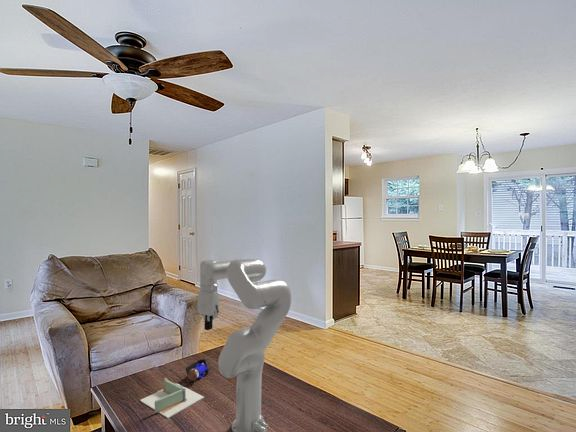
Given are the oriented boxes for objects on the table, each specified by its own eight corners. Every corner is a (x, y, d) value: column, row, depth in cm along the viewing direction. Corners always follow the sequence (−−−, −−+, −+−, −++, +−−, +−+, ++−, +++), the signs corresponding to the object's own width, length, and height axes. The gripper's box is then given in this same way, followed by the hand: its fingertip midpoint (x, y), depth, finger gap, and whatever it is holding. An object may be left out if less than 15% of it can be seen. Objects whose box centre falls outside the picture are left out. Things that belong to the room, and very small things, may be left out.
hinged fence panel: (184, 398, 142) (184, 387, 141) (186, 399, 140) (186, 389, 140) (154, 411, 132) (154, 400, 132) (156, 413, 131) (156, 402, 131)
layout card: (204, 397, 143) (204, 396, 143) (167, 418, 129) (167, 417, 129) (176, 383, 155) (176, 382, 155) (140, 401, 140) (140, 399, 140)
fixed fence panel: (183, 398, 142) (183, 386, 142) (180, 400, 141) (180, 388, 140) (165, 388, 149) (165, 377, 149) (162, 390, 148) (162, 379, 148)
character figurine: (214, 373, 166) (193, 387, 153) (202, 368, 169) (181, 382, 156) (214, 358, 166) (194, 370, 152) (203, 354, 169) (182, 366, 156)
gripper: (191, 287, 147) (190, 328, 147) (213, 292, 138) (213, 335, 139) (204, 284, 153) (204, 323, 153) (226, 289, 144) (226, 330, 145)
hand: (208, 329), depth 146 cm, fingers closed
